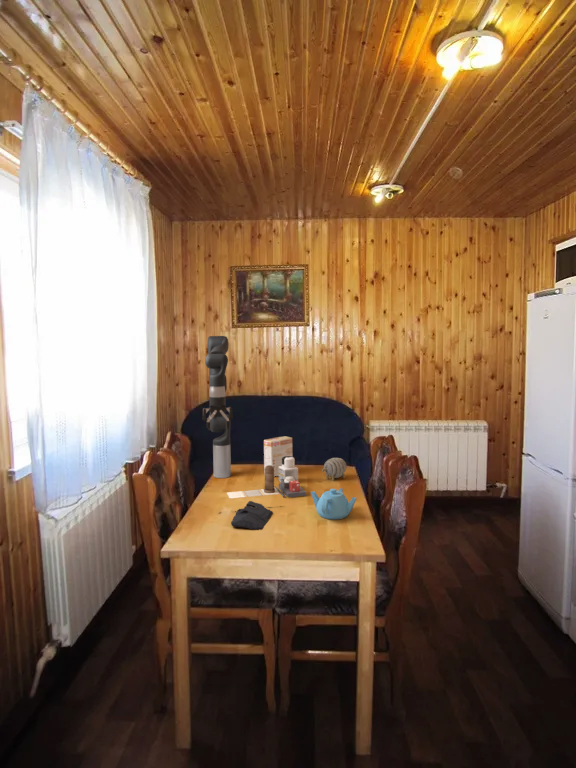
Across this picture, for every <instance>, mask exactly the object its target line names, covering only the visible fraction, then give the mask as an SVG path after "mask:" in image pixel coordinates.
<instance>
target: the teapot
mask: <svg viewBox="0 0 576 768" xmlns="http://www.w3.org/2000/svg"><path fill="white" fill-rule="evenodd" d="M343 490H344V489H343V488H339V489H338V490H337V489H336V488H330V489H329V490H326V491H324V492H323V493H322V495H321V496H320V497H319V496H318V494H317V493H316V491H310V495H311V498H312V500H313V503H314V506H315V508H316V513H317V514H318V515H319V516H320V517H321V518H322V519H327V520H342V519H345V518H346V517H348V515H350V513H351V512H352V511H353V508H354V506H355V503H356V500H357V497H354V496H353V497H351V499H350V500H349V501H348V498H347V497H346V495H345V494H344V493H343V492H344V491H343Z"/></svg>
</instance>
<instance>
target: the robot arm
mask: <svg viewBox="0 0 576 768" xmlns="http://www.w3.org/2000/svg"><path fill="white" fill-rule="evenodd" d="M229 344H230V343H229V338H228V336H226V335H210V336H208V337H207V355H206V357H205V360H204V361H205V362H204V364H205V366H206V367H207V368H208V374H209V375H208V378H209V379H208V381H209V383H208V384H209V391H208V392H209V395H208V396H209V407H208V408H205V407H204V408H202V421H203V422H206V429H208V431H211V432H212V433H223V434H222V435H220V436H218V437H217V436H216V437H215V438H214V439H213V440H212V455H213V456H212V457H213V459H212V460H213V462H212V465H213V469H212V470H213V477H214V478H217V479H225V478H229V477H231V476H232V463H231V462H232V461H231V460H232V459H231V458H232V457H231V453H232V452H231V421H232V420H233V419H234V415H233V414H234V413H233V407H231V406H229V407H226V405H227V404H226V393H227V390H228V389H227V388H228V386H227V385H228V383H227V382H228V380H227V376H226V370H227V367H228V363H229V359H228V356H227V355H226V354H227V353H228V352H229V348H230V347H229V346H230V345H229ZM208 412H209V415H208V417H207V413H208ZM226 412H228V414H226ZM206 417H207V418H206Z"/></svg>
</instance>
